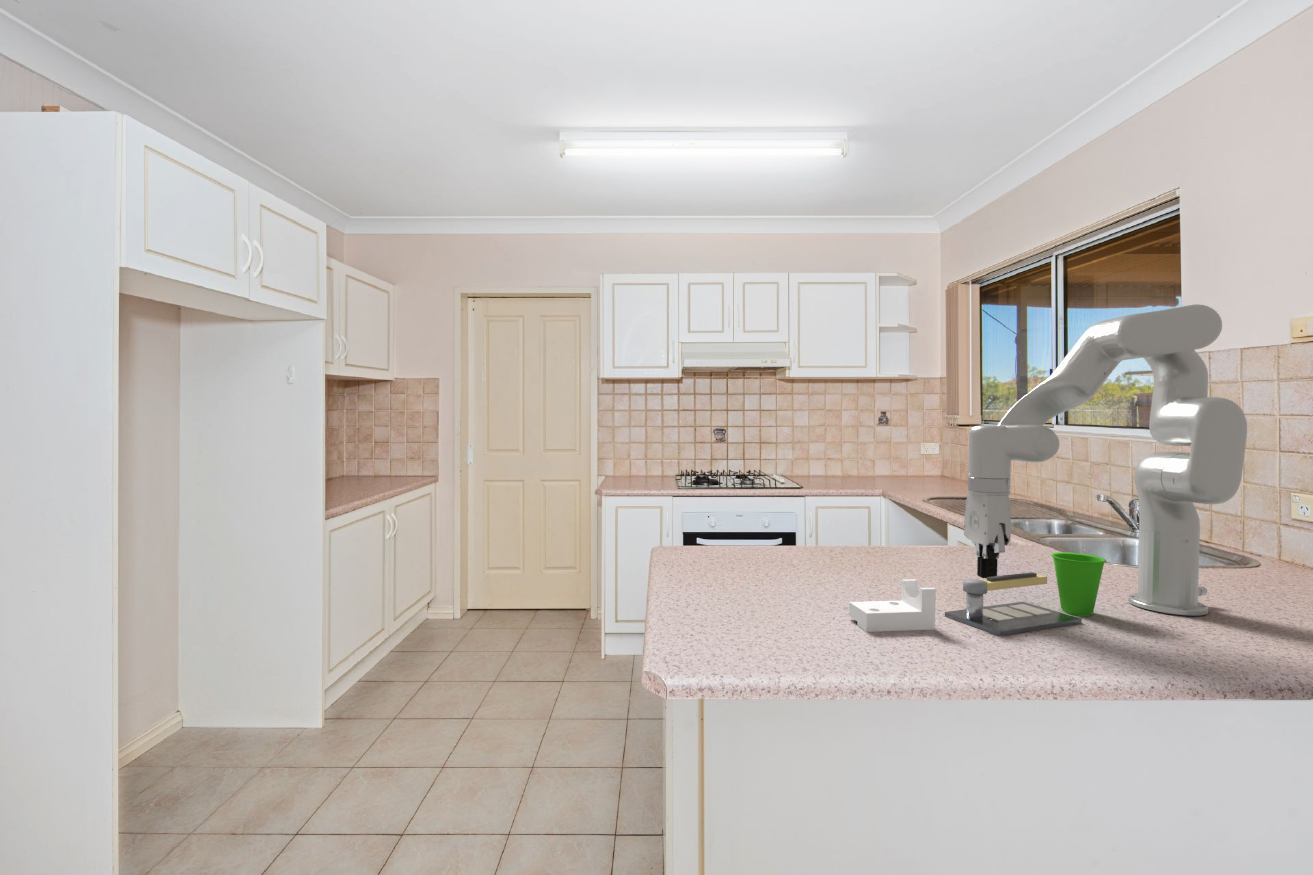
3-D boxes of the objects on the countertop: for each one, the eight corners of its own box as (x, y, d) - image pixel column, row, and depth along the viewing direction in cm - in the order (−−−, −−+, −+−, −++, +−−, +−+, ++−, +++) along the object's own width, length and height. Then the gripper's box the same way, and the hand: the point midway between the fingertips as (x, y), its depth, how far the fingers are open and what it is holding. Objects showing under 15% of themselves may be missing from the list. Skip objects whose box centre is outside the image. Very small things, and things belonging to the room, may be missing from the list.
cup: (1114, 620, 118) (1116, 563, 117) (1061, 617, 119) (1062, 560, 119) (1091, 607, 126) (1092, 553, 126) (1042, 604, 128) (1043, 551, 128)
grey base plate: (1022, 605, 127) (1023, 578, 127) (1081, 623, 116) (1082, 593, 116) (944, 616, 120) (945, 587, 119) (999, 636, 108) (1000, 604, 108)
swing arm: (976, 595, 113) (976, 582, 113) (958, 589, 117) (958, 577, 117) (1051, 585, 120) (1051, 574, 120) (1031, 580, 124) (1032, 569, 124)
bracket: (913, 618, 119) (914, 579, 119) (934, 630, 112) (935, 589, 112) (848, 620, 117) (849, 580, 117) (866, 633, 110) (867, 590, 110)
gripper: (952, 483, 133) (951, 568, 133) (989, 490, 118) (987, 586, 118) (988, 483, 133) (986, 569, 133) (1029, 490, 118) (1027, 587, 118)
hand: (987, 577), depth 126 cm, fingers closed
